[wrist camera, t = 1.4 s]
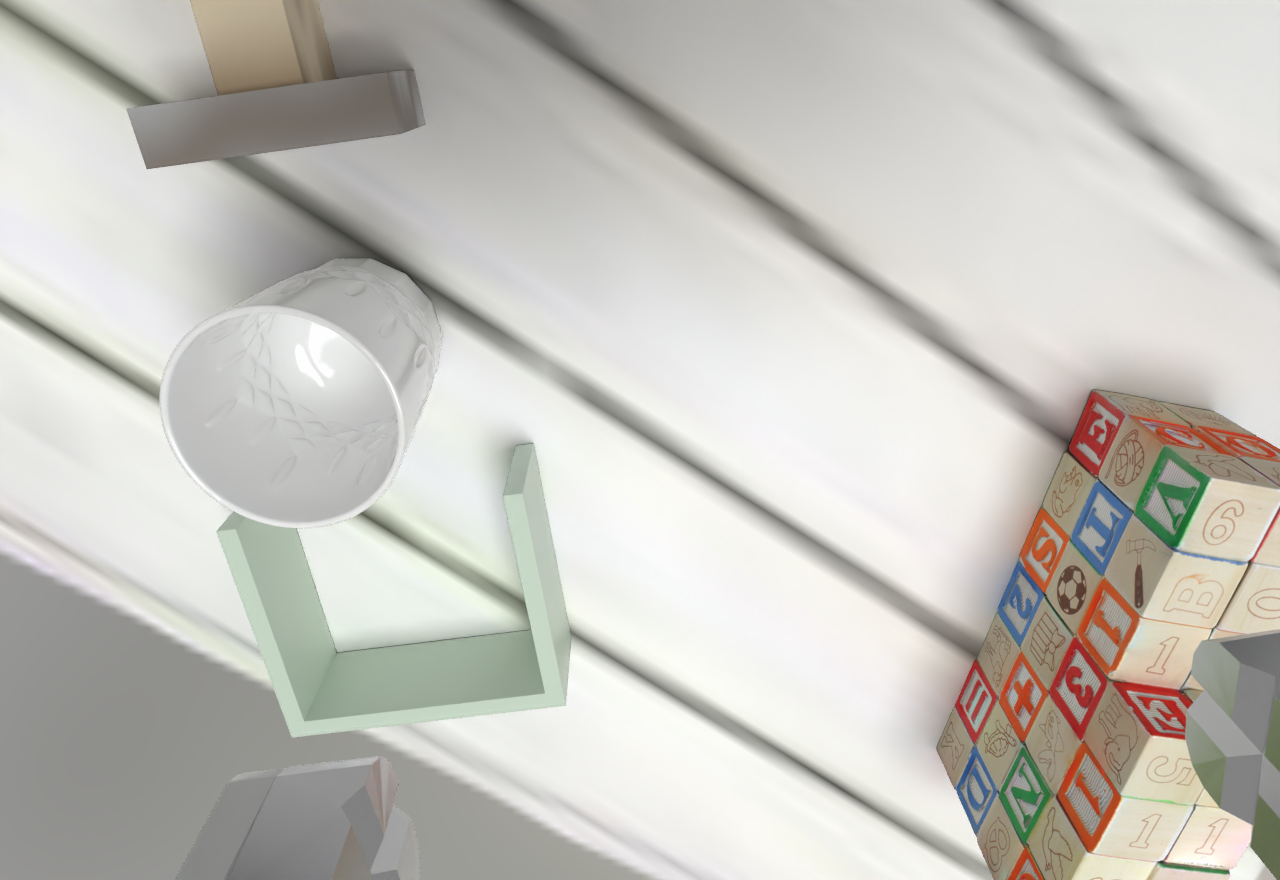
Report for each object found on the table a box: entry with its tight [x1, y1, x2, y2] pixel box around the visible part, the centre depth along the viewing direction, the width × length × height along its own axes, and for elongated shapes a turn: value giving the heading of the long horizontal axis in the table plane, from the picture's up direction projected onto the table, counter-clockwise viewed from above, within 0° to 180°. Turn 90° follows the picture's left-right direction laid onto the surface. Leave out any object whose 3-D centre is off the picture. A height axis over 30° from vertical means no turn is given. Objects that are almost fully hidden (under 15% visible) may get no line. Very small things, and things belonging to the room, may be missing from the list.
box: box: [216, 443, 571, 737], centre depth 40 cm, size 11×13×5 cm
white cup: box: [160, 258, 442, 529], centre depth 34 cm, size 8×8×10 cm
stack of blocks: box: [937, 390, 1280, 880], centre depth 39 cm, size 21×6×12 cm, turn 169°
